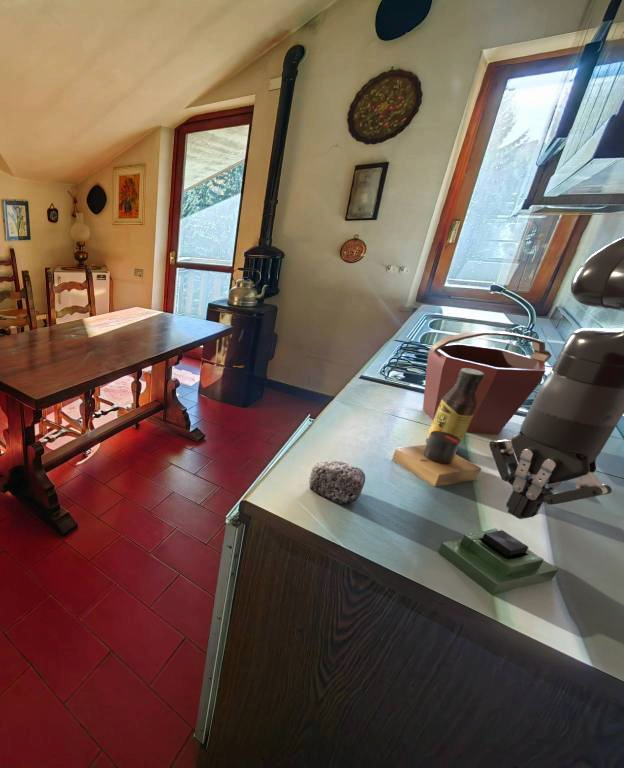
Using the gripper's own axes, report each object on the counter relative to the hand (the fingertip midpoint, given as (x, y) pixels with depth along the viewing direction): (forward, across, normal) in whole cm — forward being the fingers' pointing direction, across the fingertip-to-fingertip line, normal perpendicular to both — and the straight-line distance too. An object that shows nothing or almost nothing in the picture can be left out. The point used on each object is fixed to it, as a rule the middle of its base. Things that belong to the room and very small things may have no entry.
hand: (517, 514), depth 57 cm
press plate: (+6, 0, 0) cm, 6 cm away
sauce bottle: (+10, +30, -27) cm, 42 cm away
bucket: (+10, +40, -47) cm, 62 cm away
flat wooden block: (+10, +23, -16) cm, 30 cm away
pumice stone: (+10, +20, +11) cm, 25 cm away
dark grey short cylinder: (+7, +23, -16) cm, 29 cm away
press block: (+10, 0, 0) cm, 10 cm away
